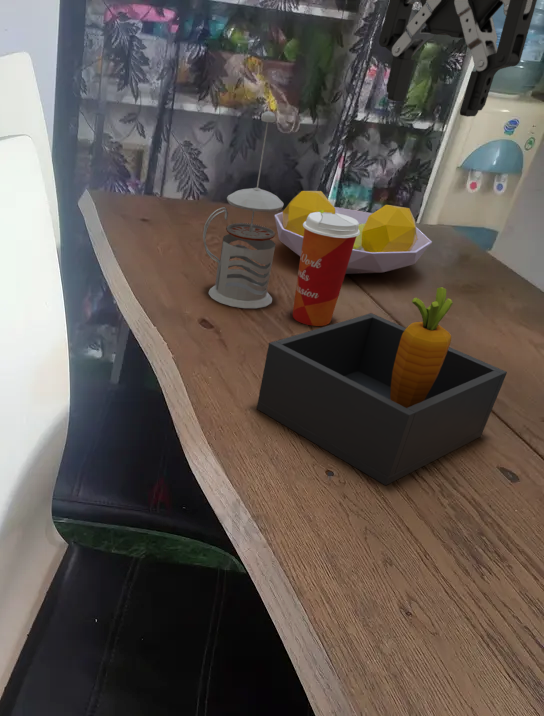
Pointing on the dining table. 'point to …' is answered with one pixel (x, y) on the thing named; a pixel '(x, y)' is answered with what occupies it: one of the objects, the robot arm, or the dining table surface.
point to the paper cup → (323, 265)
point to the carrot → (421, 353)
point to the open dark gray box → (373, 397)
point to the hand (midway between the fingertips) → (430, 107)
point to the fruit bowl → (377, 233)
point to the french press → (238, 283)
